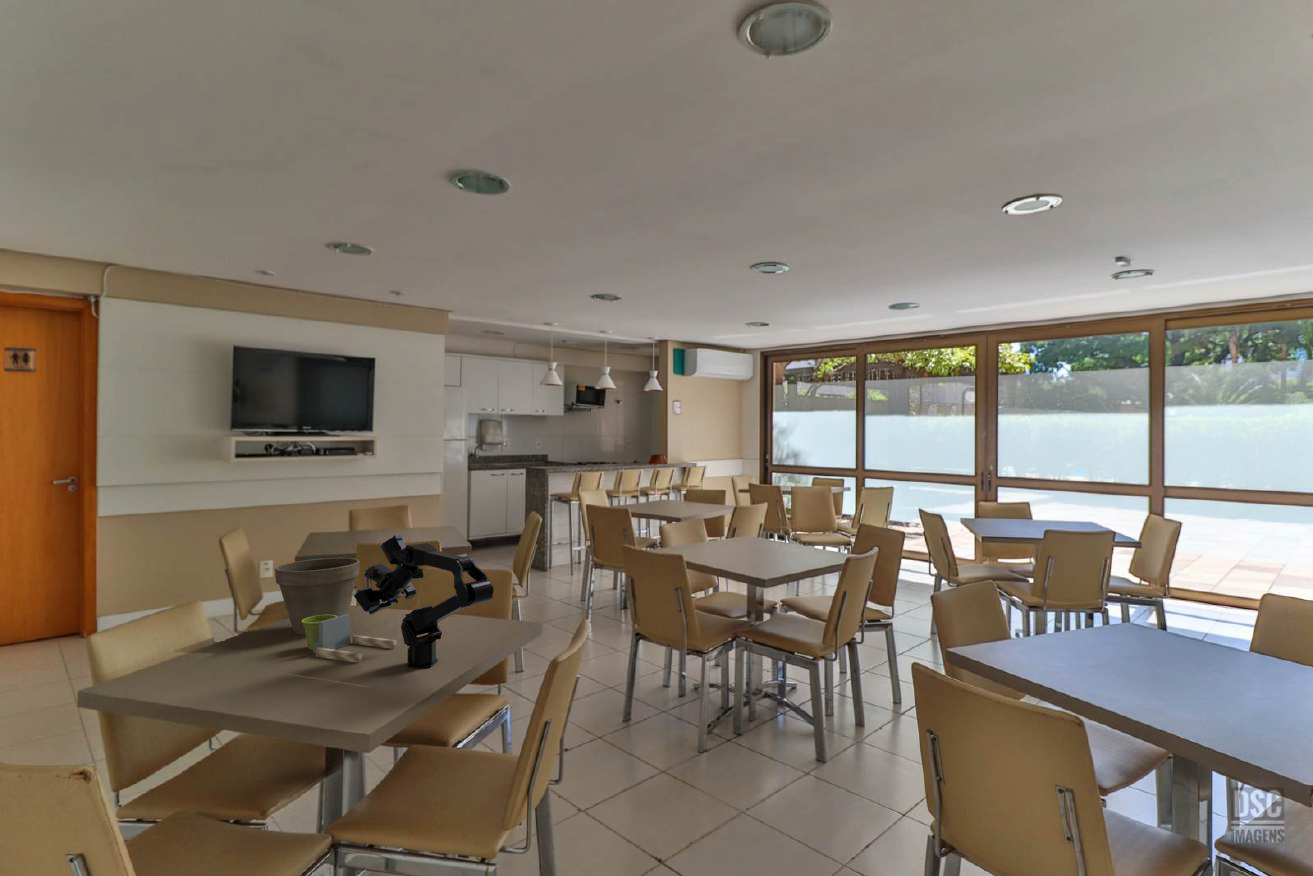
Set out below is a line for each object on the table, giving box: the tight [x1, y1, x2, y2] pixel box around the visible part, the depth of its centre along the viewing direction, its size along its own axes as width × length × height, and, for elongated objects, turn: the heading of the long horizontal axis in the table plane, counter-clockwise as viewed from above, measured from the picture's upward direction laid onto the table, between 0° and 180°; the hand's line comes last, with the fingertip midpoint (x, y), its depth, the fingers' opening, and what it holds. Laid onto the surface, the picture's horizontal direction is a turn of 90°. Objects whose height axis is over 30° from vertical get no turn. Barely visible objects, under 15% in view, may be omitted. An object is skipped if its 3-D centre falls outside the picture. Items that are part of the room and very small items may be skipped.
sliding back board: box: [312, 613, 351, 654], centre depth 194 cm, size 4×10×9 cm, turn 159°
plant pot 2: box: [302, 615, 337, 651], centre depth 196 cm, size 9×9×9 cm
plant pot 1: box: [274, 557, 361, 636], centre depth 216 cm, size 25×25×22 cm
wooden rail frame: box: [315, 634, 398, 663], centre depth 190 cm, size 16×14×2 cm
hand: (370, 613), depth 189 cm, fingers closed
